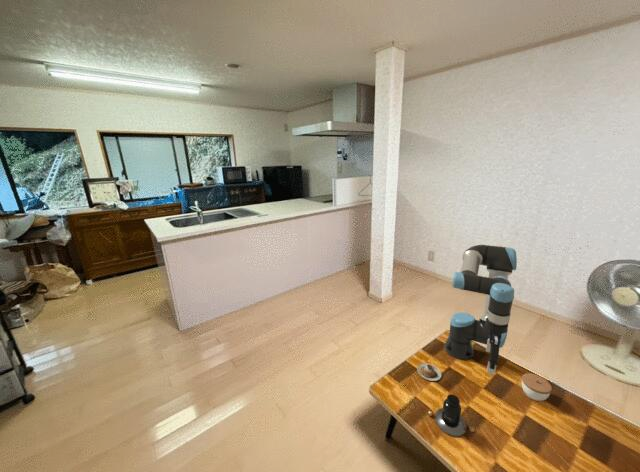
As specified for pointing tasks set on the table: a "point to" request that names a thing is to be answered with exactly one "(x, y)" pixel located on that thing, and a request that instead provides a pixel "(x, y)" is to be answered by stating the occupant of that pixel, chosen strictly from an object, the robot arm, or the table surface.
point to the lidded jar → (536, 387)
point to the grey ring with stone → (429, 371)
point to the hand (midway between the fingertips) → (489, 362)
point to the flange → (451, 431)
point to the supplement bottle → (451, 411)
